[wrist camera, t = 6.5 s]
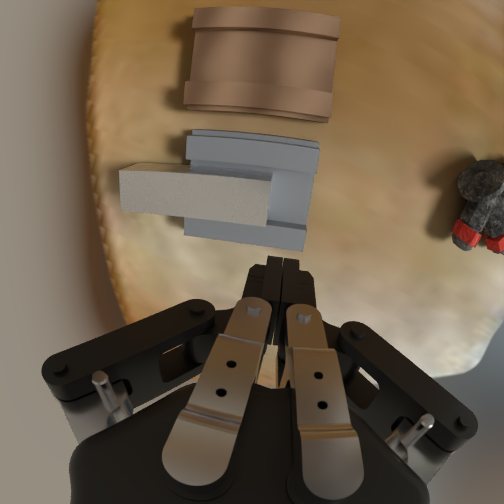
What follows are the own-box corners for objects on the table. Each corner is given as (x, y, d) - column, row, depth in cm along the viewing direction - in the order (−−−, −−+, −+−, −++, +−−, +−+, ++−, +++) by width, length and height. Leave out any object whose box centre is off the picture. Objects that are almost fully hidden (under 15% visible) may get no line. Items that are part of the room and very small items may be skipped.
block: (139, 198, 29) (121, 210, 26) (138, 162, 27) (119, 170, 24) (268, 212, 28) (265, 227, 25) (273, 172, 26) (270, 181, 23)
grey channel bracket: (193, 228, 32) (184, 239, 29) (197, 129, 27) (187, 130, 24) (301, 243, 31) (301, 256, 28) (317, 141, 26) (320, 144, 23)
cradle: (193, 110, 26) (182, 109, 23) (204, 14, 21) (195, 4, 18) (325, 123, 25) (329, 123, 22) (335, 23, 20) (340, 13, 17)
